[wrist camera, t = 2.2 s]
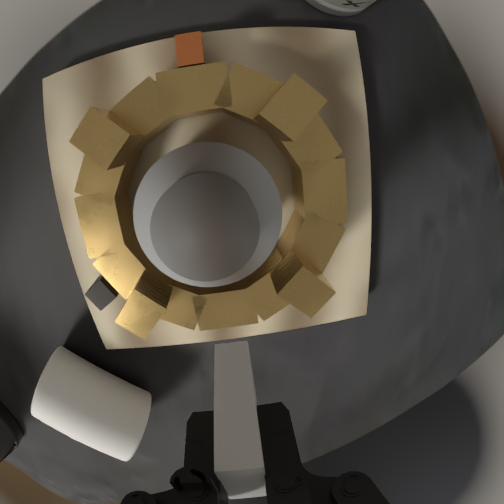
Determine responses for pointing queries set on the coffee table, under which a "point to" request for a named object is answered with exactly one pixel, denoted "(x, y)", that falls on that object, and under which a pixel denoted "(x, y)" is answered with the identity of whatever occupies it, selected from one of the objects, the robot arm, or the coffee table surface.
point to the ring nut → (196, 104)
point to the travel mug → (341, 6)
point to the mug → (91, 405)
